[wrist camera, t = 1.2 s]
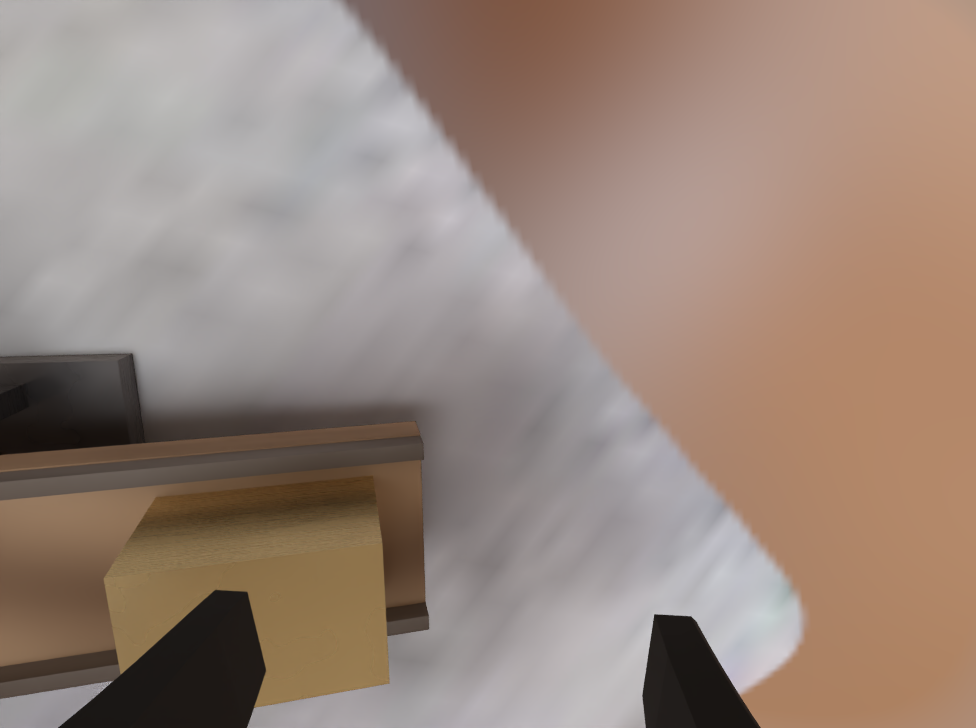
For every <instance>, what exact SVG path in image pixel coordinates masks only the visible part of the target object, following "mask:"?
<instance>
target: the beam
mask: <svg viewBox="0 0 976 728" xmlns="http://www.w3.org/2000/svg"><path fill="white" fill-rule="evenodd" d="M421 460H424V450H423V442H422V439H421V436H420V432H419V430H418V427H417V424H416V422H415V421H410V422H398V423H386V424H374V425H362V426H349V427H337V428H325V429H313V430H300V431H288V432H276V433H264V434H252V435H239V436H227V437H215V438H203V439H191V440H178V441H166V442H154V443H142V444H129V445H117V446H105V447H93V448H81V449H68V450H56V451H44V452H32V453H20V454H7V455H0V699H2V698H9V697H15V696H21V695H27V694H33V693H39V692H46V691H52V690H58V689H64V688H70V687H76V686H83V685H89V684H95V683H101V682H107V681H113V680H115V679H116V678H117V677H119V676H120V675H121V674H120V668H119V663H118V657H117V651H116V646H115V640H114V635H113V629H112V623H111V618H110V612H109V606H108V601H107V595H106V590H105V584H104V577H105V576H106V574H107V573H108V571H109V569H110V568H111V566H112V565H113V563H114V562H115V560H116V558H117V557H118V555H119V554H120V552H121V551H122V549H123V547H124V546H125V544H126V543H127V541H128V540H129V538H130V537H131V535H132V533H133V532H134V530H135V529H136V527H137V526H138V524H139V522H140V521H141V519H142V518H143V516H144V515H145V513H146V511H147V510H148V508H149V507H150V505H151V504H152V502H153V501H154V499H155V497H164V496H174V495H184V494H194V493H203V492H213V491H223V490H233V489H243V488H253V487H263V486H273V485H283V484H293V483H303V482H312V481H322V480H332V479H342V478H352V477H362V476H372V475H373V480H374V487H375V494H376V501H377V508H378V516H379V523H380V530H381V537H382V546H383V566H384V585H385V605H386V625H387V636H391V635H397V634H403V633H410V632H416V631H422V630H428V629H429V615H428V611H427V607H426V602H425V571H424V539H423V508H422V477H421Z"/></svg>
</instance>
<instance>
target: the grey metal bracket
mask: <svg viewBox="0 0 976 728" xmlns="http://www.w3.org/2000/svg"><path fill="white" fill-rule="evenodd" d="M142 443H145V439H144V433H143V426H142V419H141V413H140V406H139V399H138V393H137V386H136V379H135V373H134V366H133V359H132V354H105V355H63V356H21V357H0V455H7V454H20V453H32V452H44V451H56V450H68V449H81V448H93V447H105V446H117V445H129V444H142Z"/></svg>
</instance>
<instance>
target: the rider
mask: <svg viewBox="0 0 976 728" xmlns="http://www.w3.org/2000/svg"><path fill="white" fill-rule="evenodd" d="M104 584H105V590H106V595H107V601H108V606H109V612H110V618H111V623H112V629H113V635H114V640H115V646H116V651H117V657H118V663H119V668H120V674H122V673H123V672H124V671H125V670H127V669H128V668H129V667H130V666H131V665H132V664H133V663H134V662H136V661H137V660H138V659H139V658H140V657H141V656H142V655H143V654H145V653H146V652H147V651H148V650H149V649H150V648H151V647H152V646H153V645H154V644H156V643H157V642H158V641H159V640H160V639H161V638H162V637H163V636H164V635H165V634H167V633H168V632H169V631H170V630H171V629H172V628H173V627H174V626H175V625H176V624H178V623H179V622H180V621H181V620H182V619H183V618H184V617H185V616H186V615H187V614H189V613H190V612H191V611H192V610H193V609H194V608H195V607H196V606H197V605H199V604H200V603H201V602H202V601H203V600H204V599H205V598H206V597H208V596H209V595H210V594H211V593H212V592H213V591H214V590H227V591H244V592H248V596H249V600H250V604H251V609H252V613H253V617H254V621H255V625H256V629H257V634H258V638H259V642H260V646H261V650H262V654H263V659H264V663H265V667H266V673H265V676H264V679H263V682H262V685H261V688H260V691H259V694H258V697H257V700H256V703H255V706H254V708H255V707H261V706H266V705H272V704H278V703H283V702H289V701H294V700H300V699H305V698H311V697H317V696H322V695H328V694H333V693H339V692H344V691H350V690H355V689H361V688H367V687H372V686H378V685H383V684H389V665H388V645H387V625H386V605H385V585H384V566H383V546H382V537H381V530H380V523H379V516H378V508H377V501H376V494H375V487H374V480H373V475H372V476H362V477H352V478H342V479H332V480H322V481H312V482H303V483H293V484H283V485H273V486H263V487H253V488H243V489H233V490H223V491H213V492H203V493H194V494H184V495H174V496H164V497H155V499H154V501H153V502H152V504H151V505H150V507H149V508H148V510H147V511H146V513H145V515H144V516H143V518H142V519H141V521H140V522H139V524H138V526H137V527H136V529H135V530H134V532H133V533H132V535H131V537H130V538H129V540H128V541H127V543H126V544H125V546H124V547H123V549H122V551H121V552H120V554H119V555H118V557H117V558H116V560H115V562H114V563H113V565H112V566H111V568H110V569H109V571H108V573H107V574H106V576H105V577H104Z"/></svg>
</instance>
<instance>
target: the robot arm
mask: <svg viewBox="0 0 976 728" xmlns="http://www.w3.org/2000/svg"><path fill="white" fill-rule="evenodd" d="M265 673H266V667H265V663H264V659H263V654H262V650H261V646H260V642H259V638H258V634H257V629H256V625H255V621H254V617H253V613H252V609H251V604H250V600H249V596H248V592H244V591H227V590H214V591H213V592H212V593H211V594H210V595H209V596H208V597H206V598H205V599H204V600H203V601H202V602H201V603H200V604H199V605H197V606H196V607H195V608H194V609H193V610H192V611H191V612H190V613H189V614H187V615H186V616H185V617H184V618H183V619H182V620H181V621H180V622H179V623H178V624H176V625H175V626H174V627H173V628H172V629H171V630H170V631H169V632H168V633H167V634H165V635H164V636H163V637H162V638H161V639H160V640H159V641H158V642H157V643H156V644H154V645H153V646H152V647H151V648H150V649H149V650H148V651H147V652H146V653H145V654H143V655H142V656H141V657H140V658H139V659H138V660H137V661H136V662H134V663H133V664H132V665H131V666H130V667H129V668H128V669H127V670H125V671H124V672H123V673H122V674H121V675H120V676H119V677H117V678H116V679H115V680H114V681H113V682H112V683H111V684H110V685H108V686H107V687H106V688H105V689H104V690H103V691H102V692H100V693H99V694H98V695H97V696H96V697H95V698H93V699H92V700H91V701H90V702H89V703H88V704H86V705H85V706H84V707H83V708H82V709H80V710H79V711H78V712H77V713H76V714H74V715H73V716H72V717H71V718H69V719H68V720H67V721H66V722H65V723H63V724H62V725H61V726H60V727H59V728H247V726H248V723H249V720H250V717H251V715H252V712H253V709H254V706H255V703H256V700H257V697H258V694H259V691H260V688H261V685H262V682H263V679H264V676H265ZM642 696H643V705H644V714H645V724H646V728H760V726H759V725H758V723H757V722H756V720H755V719H754V717H753V716H752V714H751V713H750V711H749V710H748V708H747V706H746V705H745V703H744V702H743V700H742V699H741V697H740V695H739V694H738V692H737V691H736V689H735V687H734V686H733V684H732V682H731V681H730V679H729V678H728V676H727V674H726V673H725V671H724V669H723V668H722V666H721V664H720V663H719V661H718V659H717V658H716V656H715V654H714V652H713V651H712V649H711V647H710V645H709V644H708V642H707V640H706V638H705V637H704V635H703V633H702V631H701V629H700V628H699V626H698V624H697V622H696V621H695V620H694V619H693V618H692V617H691V616H674V615H656V614H654V621H653V627H652V634H651V641H650V648H649V654H648V661H647V668H646V675H645V681H644V688H643V695H642Z"/></svg>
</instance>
